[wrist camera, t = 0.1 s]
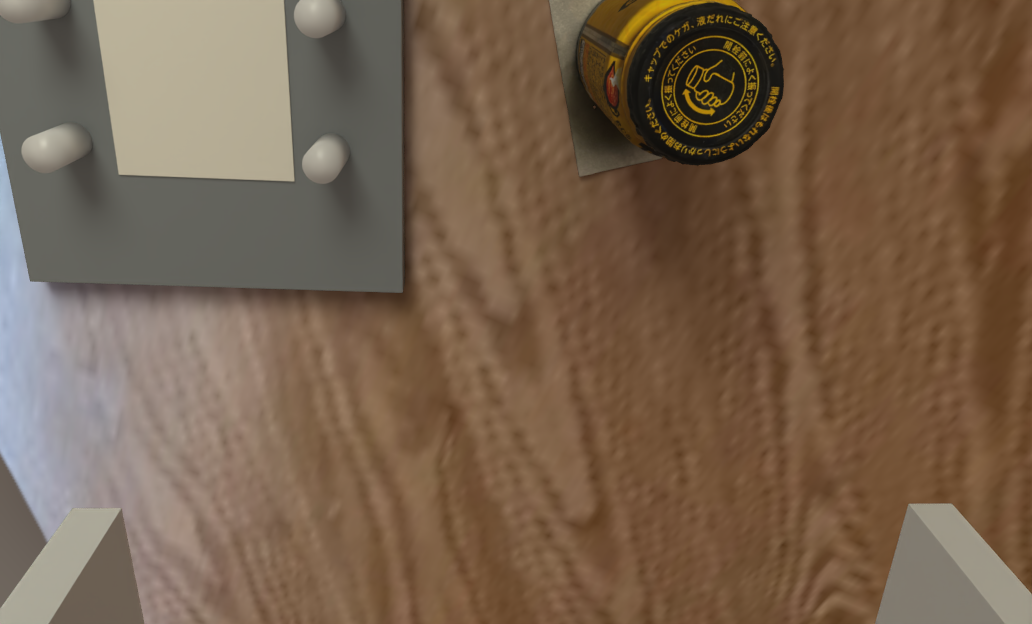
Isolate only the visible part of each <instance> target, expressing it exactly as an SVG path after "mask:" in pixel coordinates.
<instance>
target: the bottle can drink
mask: <svg viewBox="0 0 1032 624" xmlns="http://www.w3.org/2000/svg"><path fill="white" fill-rule="evenodd" d="M549 3H550V9H551V15H552V21H553V27H554V33H555V39H556V44H557V50H558V56H559V63H560V68H561V74H562V80H563V85H564V92H565V97H566V102H567V108H568V114H569V120H570V126H571V132H572V138H573V143H574V149H575V154H576V160H577V166H578V172H579V177H581V176H585V175H590V174H594V173H597V172H601V171H606V170H611V169H615V168H620V167H624V166H629V165H633V164H638V163H643V162H648V161H653V160H658V159H661V158H667V159H668V160H670V161H673V162H675V161H677V162H679V163H681V164H689V165H697V166H698V165H708V164H713V163H717V162H722V161H725V160H728V159H731V158H733V157H735V156H737V155H738V154H740V153H742V152H744V151H746V150H747V149H749V148H750V147H751V146H752V145H753V144H754V142H756V141H757V140H758V139H759V138H760V137H761V136H762V135H763V134H764V133H765V132H766V131H767V130H768V129H769V128H770V125H771V122H772V120H773V118H774V116H775V113H776V111H777V109H778V106H779V103H780V101H781V99H782V95H783V87H784V80H783V70H784V69H783V65H782V58H781V54H780V50H779V49H778V47H777V45H776V44H775V43H774V41H773V39H772V35H771V34H770V33H769V32H768V31H767V28H766V27H765V26H764V25H763V24H762V23H761V22H760V21H758V20H757V19H755V18H753V17H752V15H751V14H748V13H747V12H746V11H745V10H744V9H743V8H742V7H740V6H739V5H738V4H737V3H736V2H734V1H732V0H549ZM593 106H596V108H595V109H593Z"/></svg>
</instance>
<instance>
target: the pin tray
mask: <svg viewBox="0 0 1032 624" xmlns="http://www.w3.org/2000/svg"><path fill="white" fill-rule="evenodd" d="M0 134H1V139H2V144H3V149H4V154H5V159H6V164H7V169H8V174H9V179H10V183H11V188H12V193H13V198H14V203H15V208H16V213H17V218H18V223H19V228H20V233H21V238H22V243H23V248H24V253H25V258H26V263H27V268H28V273H29V278H30V281H34V282H66V283H99V284H132V285H165V286H197V287H230V288H263V289H296V290H328V291H361V292H394V293H403V289H404V284H405V263H404V0H0Z"/></svg>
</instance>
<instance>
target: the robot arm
mask: <svg viewBox="0 0 1032 624" xmlns="http://www.w3.org/2000/svg"><path fill="white" fill-rule="evenodd" d="M0 624H144V619H143V614H142V609H141V604H140V599H139V594H138V589H137V584H136V579H135V574H134V569H133V564H132V559H131V554H130V549H129V544H128V539H127V534H126V529H125V524H124V519H123V513H122V508H72V510H71V511H70V513H69V514H68V515H67V517H66V518H65V519H64V521H63V522H62V524H61V525H60V526H59V528H58V529H57V531H56V532H55V533H54V535H53V536H52V538H51V539H50V540H49V542H48V543H47V544H46V546H45V547H44V549H43V550H42V552H41V553H40V554H39V556H38V557H37V558H36V560H35V561H34V563H33V564H32V566H31V567H30V568H29V570H28V571H27V572H26V574H25V575H24V576H23V578H22V579H21V581H20V582H19V583H18V585H17V586H16V588H15V589H14V590H13V592H12V593H11V595H10V596H9V597H8V599H7V600H6V601H5V603H4V604H3V606H2V607H1V608H0ZM875 624H1032V594H1031V593H1030V592H1029V591H1028V589H1027V588H1026V587H1025V586H1024V585H1023V584H1022V583H1021V582H1020V580H1019V579H1018V578H1017V577H1016V576H1015V575H1014V574H1013V573H1012V571H1011V570H1010V569H1009V568H1008V567H1007V566H1006V565H1005V563H1004V562H1003V561H1002V560H1001V559H1000V558H999V557H998V556H997V554H996V553H995V552H994V551H993V550H992V549H991V548H990V546H989V545H988V544H987V543H986V542H985V541H984V540H983V539H982V537H981V536H980V535H979V534H978V533H977V532H976V531H975V530H974V528H973V527H972V526H971V525H970V524H969V523H968V522H967V520H966V519H965V518H964V517H963V516H962V515H961V514H960V513H959V511H958V510H957V509H956V508H955V507H954V506H953V505H952V504H908V508H907V512H906V515H905V519H904V522H903V526H902V529H901V533H900V537H899V540H898V544H897V547H896V551H895V555H894V558H893V562H892V565H891V569H890V572H889V576H888V580H887V583H886V587H885V590H884V594H883V598H882V601H881V605H880V608H879V612H878V615H877V619H876V623H875Z"/></svg>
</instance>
